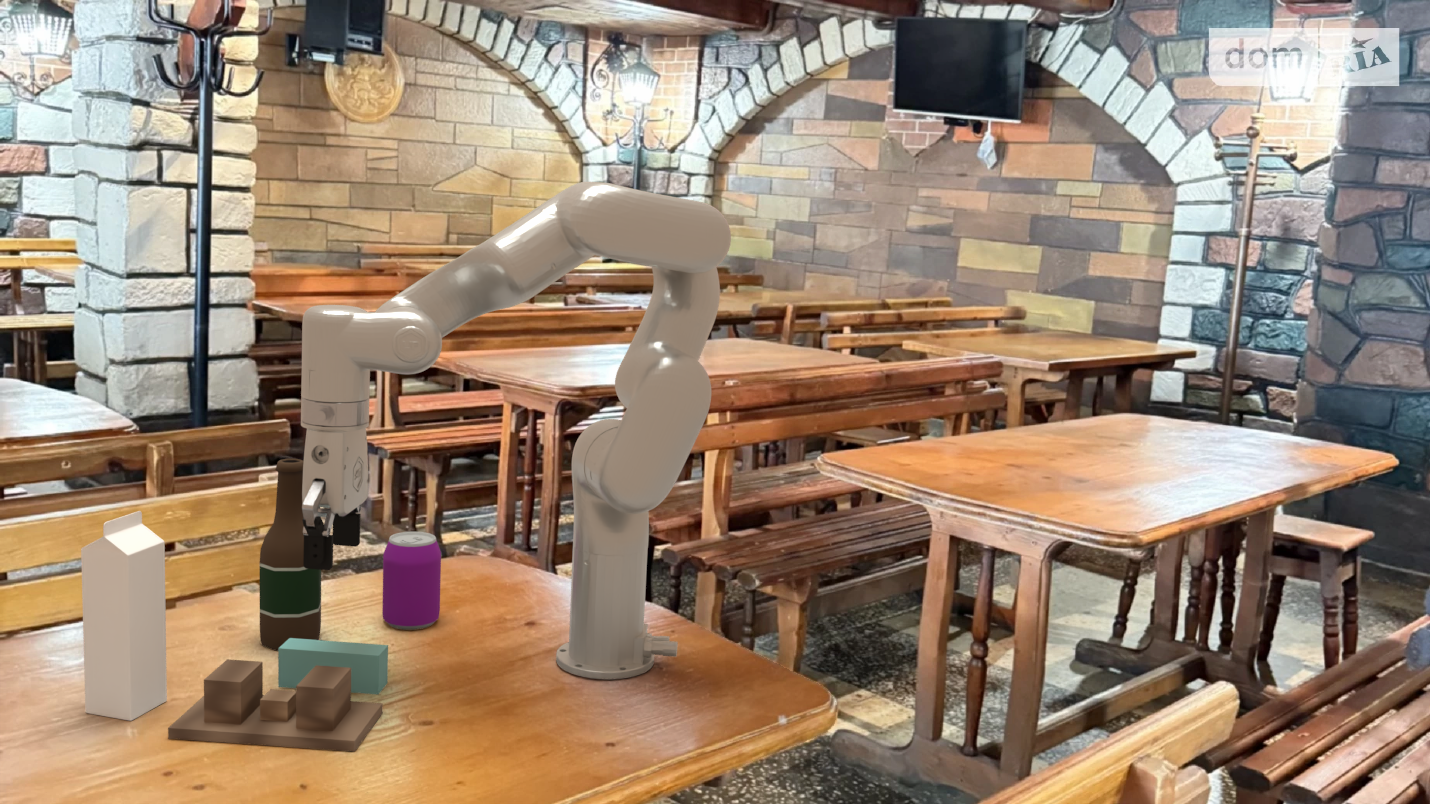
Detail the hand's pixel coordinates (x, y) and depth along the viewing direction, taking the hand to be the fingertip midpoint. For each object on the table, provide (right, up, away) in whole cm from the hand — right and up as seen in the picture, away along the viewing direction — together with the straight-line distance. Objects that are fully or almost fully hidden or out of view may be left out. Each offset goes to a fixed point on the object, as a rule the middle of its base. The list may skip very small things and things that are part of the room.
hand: (332, 556), depth 147 cm
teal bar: (-1, -16, +3) cm, 16 cm away
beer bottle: (-10, -13, +16) cm, 23 cm away
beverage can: (+3, -12, +25) cm, 28 cm away
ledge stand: (-3, -17, -9) cm, 20 cm away
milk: (-21, -16, -7) cm, 27 cm away
